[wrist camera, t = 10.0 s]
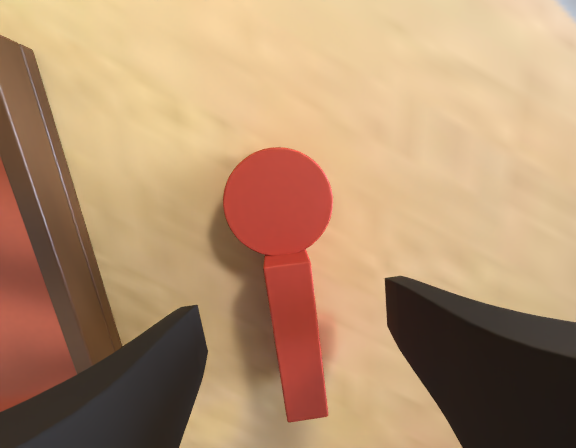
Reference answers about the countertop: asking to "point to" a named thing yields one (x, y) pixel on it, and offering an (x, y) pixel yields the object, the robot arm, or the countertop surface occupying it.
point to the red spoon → (286, 260)
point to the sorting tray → (42, 247)
